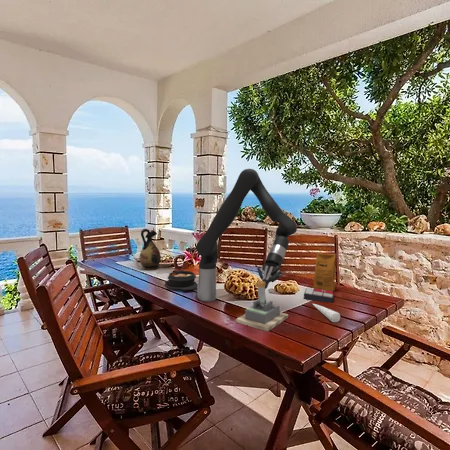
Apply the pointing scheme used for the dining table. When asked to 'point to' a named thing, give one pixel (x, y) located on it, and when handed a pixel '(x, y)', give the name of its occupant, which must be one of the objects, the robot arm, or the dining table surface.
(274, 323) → the mounting board
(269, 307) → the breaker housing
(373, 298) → the dining table surface
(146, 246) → the ceramic jug
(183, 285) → the casserole
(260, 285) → the lever
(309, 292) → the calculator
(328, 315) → the unicorn horn
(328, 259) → the coffee package
